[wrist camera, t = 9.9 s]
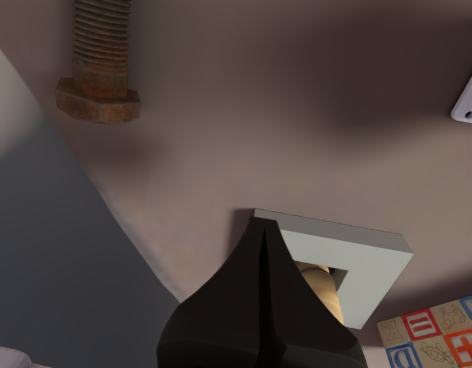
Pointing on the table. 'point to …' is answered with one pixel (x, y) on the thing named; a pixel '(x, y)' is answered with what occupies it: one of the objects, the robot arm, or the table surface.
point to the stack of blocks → (430, 337)
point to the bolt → (99, 65)
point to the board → (347, 259)
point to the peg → (322, 286)
